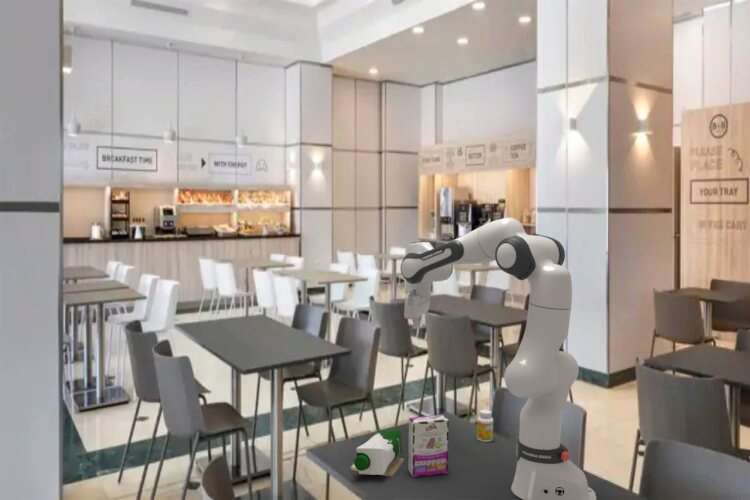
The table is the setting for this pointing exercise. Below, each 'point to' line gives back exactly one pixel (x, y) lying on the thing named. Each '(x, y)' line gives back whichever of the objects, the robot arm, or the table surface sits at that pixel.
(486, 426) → the supplement bottle
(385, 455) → the soya milk
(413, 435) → the candy bar box
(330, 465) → the table surface
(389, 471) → the oak board
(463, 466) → the table surface
